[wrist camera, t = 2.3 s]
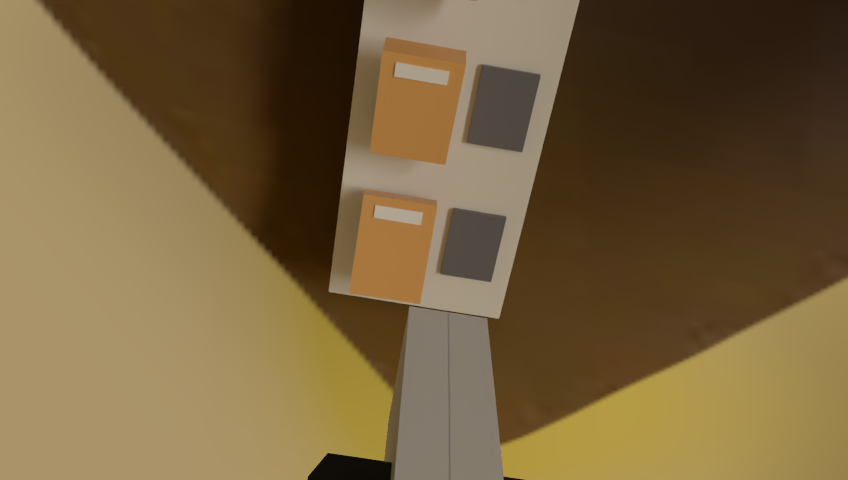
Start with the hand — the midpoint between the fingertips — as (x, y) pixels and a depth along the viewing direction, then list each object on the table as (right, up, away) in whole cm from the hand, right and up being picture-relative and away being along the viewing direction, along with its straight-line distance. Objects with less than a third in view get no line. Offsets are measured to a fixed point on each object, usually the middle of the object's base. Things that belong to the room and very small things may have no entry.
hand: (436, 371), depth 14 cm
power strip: (+2, +14, +20) cm, 24 cm away
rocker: (-2, +2, +19) cm, 19 cm away
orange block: (-1, +8, +16) cm, 18 cm away
